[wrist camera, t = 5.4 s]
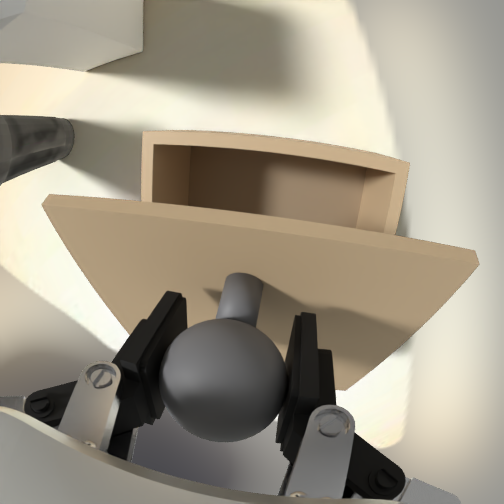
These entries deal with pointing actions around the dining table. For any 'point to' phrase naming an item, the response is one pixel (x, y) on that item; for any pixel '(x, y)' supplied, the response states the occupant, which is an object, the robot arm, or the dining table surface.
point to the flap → (254, 296)
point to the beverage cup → (32, 143)
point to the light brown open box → (274, 178)
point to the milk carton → (69, 32)
